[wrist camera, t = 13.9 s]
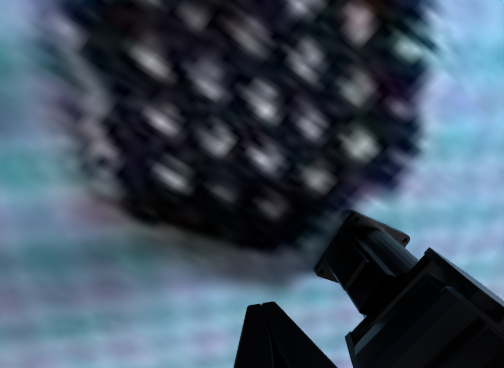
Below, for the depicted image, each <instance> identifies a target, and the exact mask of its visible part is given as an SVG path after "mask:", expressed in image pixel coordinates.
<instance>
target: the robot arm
mask: <svg viewBox="0 0 504 368" xmlns="http://www.w3.org/2000/svg"><path fill="white" fill-rule="evenodd" d="M355 217H356V219H354V218H355ZM353 219H354V220H353ZM409 241H410V237H409V236H408V235H407V234H405V233H403V232H401V231H399V230H397V229H394V228H392V227H390V226H388V225H385V224H383V223H381V222H379V221H376V220H374V219H372V218H370V217H367V216H365V215H363V214H360V213H358V212H352V213H351V214H350V215H349V216H348V218H347V219H346V221H345V222H344V224H343V225H342V227H341V228H340V230H339V231H338V233H337V234H336V236H335V237H334V239H333V240H332V242H331V244H330V245H329V247H328V248H327V250H326V251H325V253H324V254H323V256H322V257H321V259H320V260H319V262H318V263H317V265H316V267H315V268H314V271H315V273H316V275H317V276H319V277H322V278H325V279H328V280H331V281H334V282H337V283H339V284H340V285H341V287H342V288H343V290H344V291H346V293H347V294H348V296H349V297H350V299H351V300H352V302H353V304H354V305H355V307H356V308H357V310H358V311H359V313H361V314H362V315H363V316H364V319H363V320H362V321H361V322H360V323H359V324H358V326H357V327H356V328H355V329H354V330H353V331H352V332H349V333H348V334H347V335H346V336H345V340H346V344H347V347H348V351H349V355H350V358H351V362H352V365H353V368H504V301H503V300H502V299H501V298H499V297H498V296H497V295H495V294H494V293H493V292H491V291H490V290H489V289H487V288H486V287H485V286H484V285H482V284H481V283H480V282H478V281H477V280H476V279H474V278H473V277H472V276H470V275H469V274H468V273H466V272H465V271H463V270H462V269H460V268H459V267H457V266H456V265H455V264H453V263H452V262H450V261H449V260H447V259H446V258H444V257H443V256H441V255H440V254H439V253H437V252H436V251H434V250H433V249H431V248H430V247H429V248H428V249H427V250H426V251H425V252H424V254H425V255H424V256H423V257H422V258H421V259H420V260H418V259H417V258H416V257H414V256H413V255H412V254H411V253H410V252H409V251H408V250H406V249H405V247H406V245H407V244H408V242H409ZM321 269H322V270H321ZM320 270H321V271H320ZM234 368H337V367H336V365H335V364H334V363H333V362H332V361H331V360H330V359H329V358H328V357H327V356H326V355H325V354H324V353H323V352H322V351H321V350H320V349H319V348H318V347H317V346H316V344H315V343H314V342H313V341H312V340H311V339H310V338H309V337H308V336H307V335H306V334H305V333H304V332H303V331H302V330H301V329H300V328H299V327H298V326H297V325H296V324H295V322H294V321H293V320H292V319H291V318H290V317H289V316H288V315H287V314H286V313H285V312H284V311H283V310H282V309H281V308H280V307H279V306H278V305H277V304H276V303H275V302H266V303H262V305H260V304H255V305H249V306H248V307H247V310H246V314H245V319H244V323H243V328H242V332H241V336H240V341H239V345H238V350H237V354H236V359H235V363H234Z"/></svg>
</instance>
